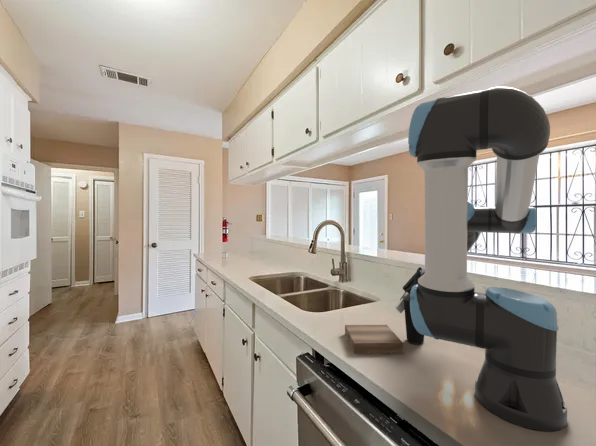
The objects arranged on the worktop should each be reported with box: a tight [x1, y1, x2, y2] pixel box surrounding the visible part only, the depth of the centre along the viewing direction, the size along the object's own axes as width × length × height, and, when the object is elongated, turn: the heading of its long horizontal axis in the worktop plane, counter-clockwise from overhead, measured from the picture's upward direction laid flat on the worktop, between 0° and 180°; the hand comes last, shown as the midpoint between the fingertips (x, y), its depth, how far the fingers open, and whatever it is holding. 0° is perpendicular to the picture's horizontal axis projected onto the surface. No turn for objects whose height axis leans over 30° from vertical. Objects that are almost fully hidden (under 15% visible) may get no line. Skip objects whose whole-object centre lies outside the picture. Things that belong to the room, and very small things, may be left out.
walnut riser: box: [344, 324, 404, 355], centre depth 90 cm, size 14×14×3 cm
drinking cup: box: [402, 278, 425, 345], centre depth 91 cm, size 8×8×20 cm
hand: (406, 314), depth 90 cm, fingers closed on drinking cup, 7 cm apart
